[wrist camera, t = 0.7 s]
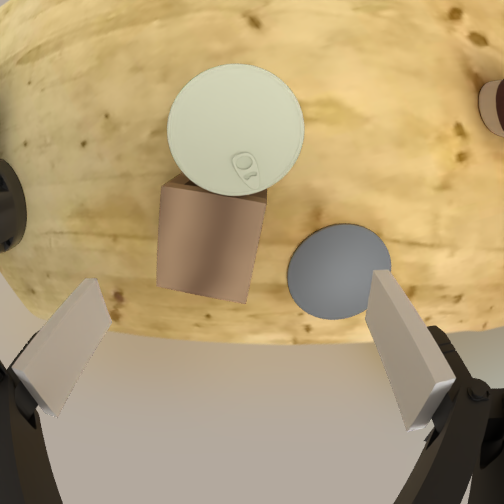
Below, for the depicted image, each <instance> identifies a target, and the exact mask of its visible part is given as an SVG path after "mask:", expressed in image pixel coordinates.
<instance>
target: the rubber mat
mask: <svg viewBox="0 0 504 504" xmlns="http://www.w3.org/2000/svg"><path fill="white" fill-rule="evenodd" d="M373 270H389V271H390V272H391V259H390V255H389V252H388V250H387V248H386V246H385V244H384V243H383V242H382V240H381V239H380V238H379V237H378V236H377V235H376V234H375V233H373V232H372V231H370V230H369V229H367V228H365V227H362V226H359V225H355V224H335V225H331V226H327V227H325V228H322V229H320V230H318V231H316V232H314V233H313V234H311V235H310V236H308V237H307V238H306V239H305V240H304V241H303V242H302V243H301V244H300V245H299V246H298V248H297V249H296V251H295V252H294V254H293V256H292V258H291V261H290V263H289V268H288V286H289V290H290V293H291V295H292V298H293V299H294V301H295V302H296V303H297V305H298V306H299V307H300V308H301V309H303V310H304V311H305V312H307V313H308V314H310V315H313V316H315V317H318V318H322V319H330V320H337V319H345V318H349V317H352V316H355V315H357V314H359V313H361V312H363V311H365V310H366V309H367V306H368V300H369V295H370V289H371V282H372V276H373Z"/></svg>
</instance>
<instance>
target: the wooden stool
mask: <svg viewBox="0 0 504 504" xmlns="http://www.w3.org/2000/svg"><path fill="white" fill-rule="evenodd" d="M266 204H267V189H265V190H262V191H260V192H257V193H253V194H249V195H242V196H227V195H221V194H217V193H214V192H210V191H208V190H206V189H204V188H202V187H200V186H198V185H197V184H195V183H194V182H192V181H191V180H190V179H189V178H188V177H187V176H186V175H185V174H184V173H183V172H182V173H181V174H179V175H177V176H176V177H174V178H173V179H171V180H170V181H168V182H167V183H165V184H164V185H162V187H161V199H160V213H159V229H158V250H157V286H158V287H162V288H167V289H171V290H176V291H181V292H186V293H191V294H195V295H200V296H205V297H211V298H216V299H221V300H226V301H232V302H237V303H243V304H246V301H247V296H248V291H249V286H250V282H251V277H252V272H253V267H254V262H255V258H256V253H257V248H258V243H259V238H260V233H261V229H262V224H263V219H264V214H265V209H266Z"/></svg>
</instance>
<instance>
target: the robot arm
mask: <svg viewBox="0 0 504 504" xmlns="http://www.w3.org/2000/svg"><path fill="white" fill-rule="evenodd" d="M25 226H26V206H25V200H24V195H23V191H22V188H21V185H20V182H19V180H18V178H17V176H16V174H15V172H14V171H13V169H12V168H11V167H10V166H9V164H8V163H6V162H5V161H4V160H2V159H0V253H3V252H6V251H8V250H10V249H11V248H13V247H14V246H16V245H17V244H18V243H19V242H20V240H21V239H22V237H23V234H24V231H25ZM365 320H366V323H367V325H368V328H369V330H370V332H371V335H372V337H373V340H374V342H375V345H376V347H377V350H378V352H379V355H380V357H381V360H382V363H383V365H384V368H385V370H386V373H387V376H388V378H389V381H390V384H391V387H392V389H393V392H394V395H395V398H396V401H397V403H398V406H399V409H400V412H401V415H402V418H403V421H404V424H405V427H406V431H407V432H409V431H413V430H417V429H421V428H424V427H426V426H427V424H428V423H429V421H430V420H431V418H432V420H433V423H434V428H433V429H432V431H431V432H430V433H429V435H428V436H427V437H426V439H425V440H424V441H427V442H426V444H425V447H424V449H423V451H422V453H421V455H420V457H419V459H418V461H417V463H416V465H415V467H414V469H413V471H412V473H411V474H410V476H409V478H408V480H407V482H406V484H405V485H404V487H403V489H402V490H401V492H400V494H399V495H398V497H397V499H396V500H395V502H394V504H460V503H461V501H462V499H463V496H464V494H465V491H466V489H467V486H468V484H469V481H470V479H471V476H472V481H471V488H470V494H469V499H468V504H504V388H502V389H490V387H489V386H488V384H486V382H484V381H482V380H480V379H475V378H472V377H471V374H470V373H469V371H468V369H467V368H466V366H465V364H464V363H463V361H462V359H461V358H460V356H459V354H458V353H457V351H455V348H454V346H453V345H452V344H451V342H450V340H449V338H448V337H447V335H446V334H445V332H443V331H442V330H441V329H439V328H438V327H437V326H436V325H435V326H428V327H426V325H425V324H424V322H423V320H422V319H421V317H420V316H419V314H418V312H417V311H416V309H415V308H414V306H413V305H412V303H411V302H410V300H409V299H408V297H407V296H406V294H405V293H404V291H403V290H402V288H401V287H400V285H399V284H398V282H397V281H396V280H395V278H394V277H393V275H392V274H391V272H390V271H389V270H373V276H372V282H371V289H370V295H369V300H368V306H367V311H366V317H365ZM111 324H112V320H111V318H110V315H109V313H108V310H107V307H106V304H105V301H104V299H103V296H102V293H101V290H100V287H99V284H98V281H97V278H85V279H84V280H83V281H82V282H81V283H80V284H79V286H78V287H77V288H76V289H75V290H74V291H73V292H72V293H71V294H70V296H69V297H68V298H67V299H66V300H65V301H64V302H63V303H62V305H61V306H60V307H59V308H58V309H57V310H56V312H55V313H54V314H53V315H52V316H51V317H50V319H49V320H48V321H47V322H46V324H45V325H44V326H43V327H42V328H41V329H40V330H39V331H38V332H37V333H35V334H34V335H33V336H32V338H31V339H30V340H29V341H28V344H26V345H25V346H24V347H23V350H21V351H20V353H19V354H18V355H17V357H16V358H15V359H14V361H13V362H12V363H11V365H10V366H9V367H8V369H7V370H6V368H5V367H4V365H3V364H2V362H1V361H0V504H63V503H62V500H61V497H60V494H59V491H58V489H57V485H56V482H55V479H54V477H53V473H52V469H51V466H50V462H49V458H48V455H47V450H46V446H45V442H44V438H43V433H42V428H41V423H40V417H39V414H38V412H37V410H36V407H37V406H38V405H39V406H40V407H41V409H42V410H43V411H44V412H45V413H46V414H49V415H51V416H54V417H58V416H59V414H60V412H61V410H62V408H63V406H64V404H65V403H66V401H67V399H68V397H69V395H70V393H71V392H72V390H73V388H74V386H75V384H76V382H77V381H78V379H79V377H80V375H81V373H82V372H83V370H84V368H85V366H86V365H87V363H88V361H89V360H90V358H91V356H92V355H93V353H94V351H95V350H96V348H97V346H98V345H99V343H100V341H101V340H102V338H103V336H104V335H105V333H106V332H107V330H108V328H109V327H110V325H111Z"/></svg>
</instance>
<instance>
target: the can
mask: <svg viewBox="0 0 504 504" xmlns="http://www.w3.org/2000/svg"><path fill="white" fill-rule="evenodd" d="M167 138H168V144H169V148H170V151H171V154H172V156H173V158H174V160H175V162H176V164H177V165H178V167H179V168H180V170H181V171H182V172H183V173H184V174H185V175H186V176H187V177H188V178H189V179H190V180H191V181H192V182H194V183H195V184H197V185H198V186H200V187H202V188H204V189H206V190H208V191H210V192H214V193H217V194H221V195H227V196H242V195H249V194H253V193H257V192H260V191H262V190H265V189H267V188H269V187H270V186H272V185H274V184H275V183H277V182H278V181H279V180H281V179H282V178H283V177H284V176H285V175H286V174H287V173H288V172H289V170H290V169H291V168H292V166H293V165H294V163H295V162H296V160H297V158H298V156H299V154H300V151H301V148H302V144H303V140H304V119H303V114H302V110H301V107H300V105H299V102H298V100H297V99H296V97H295V95H294V94H293V92H292V91H291V90H290V88H289V87H288V86H287V85H286V84H285V83H284V82H283V81H282V80H281V79H279V78H278V77H277V76H275V75H274V74H272V73H270V72H269V71H267V70H264V69H262V68H259V67H256V66H253V65H247V64H225V65H220V66H217V67H213V68H210V69H208V70H206V71H204V72H202V73H200V74H199V75H197V76H196V77H194V78H193V79H192V80H190V81H189V82H188V83H187V84H186V85H185V86H184V87H183V88H182V90H181V91H180V92H179V94H178V95H177V97H176V99H175V100H174V102H173V105H172V107H171V110H170V113H169V117H168V123H167Z"/></svg>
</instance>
